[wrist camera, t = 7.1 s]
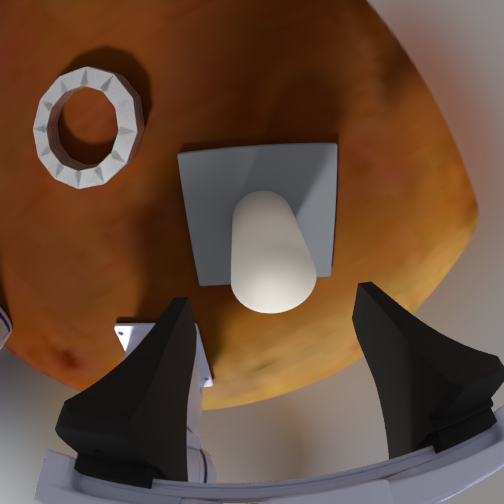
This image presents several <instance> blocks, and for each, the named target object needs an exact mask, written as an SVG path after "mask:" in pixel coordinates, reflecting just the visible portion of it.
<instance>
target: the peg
mask: <svg viewBox="0 0 504 504" xmlns="http://www.w3.org/2000/svg"><path fill="white" fill-rule="evenodd" d="M315 283H316V268H315V265H314V263H313V260H312V258H311V255H310V253H309V250H308V248H307V245H306V243H305V240H304V238H303V236H302V233H301V231H300V228H299V226H298V224H297V221H296V219H295V217H294V214H293V212H292V210H291V207H290V205H289V203H288V202H287V201H286V200H285V199H284V198H283V197H282V196H281V195H279V194H277V193H275V192H272V191H266V190H261V191H255V192H252V193H249V194H247V195H246V196H244V197H243V198H242V199H241V200H240V201H239V202H238V203H237V205H236V207H235V209H234V211H233V218H232V254H231V287H232V290H233V293H234V295H235V296H236V298H237V299H238V300H239V301H240V302H241V303H242V304H243V305H244V306H246V307H248V308H250V309H252V310H254V311H257V312H262V313H279V312H284V311H287V310H290V309H292V308H294V307H296V306H298V305H299V304H301V303H302V302H303V301H304V300H305V299H306V298H307V297H308V296H309V295H310V294H311V292H312V290H313V288H314V286H315Z"/></svg>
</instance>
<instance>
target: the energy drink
mask: <svg viewBox="0 0 504 504" xmlns="http://www.w3.org/2000/svg"><path fill="white" fill-rule="evenodd" d="M11 332H12V324H11V321H10V319H9V317H8V316H7V314H6V313H5V311H4V310H3V309H2V308H1V307H0V350H1V348H2V347H3V345H4V343H5V342H6V340H7V338H8V337H9V335H10V334H11Z"/></svg>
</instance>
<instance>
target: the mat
mask: <svg viewBox="0 0 504 504" xmlns="http://www.w3.org/2000/svg"><path fill="white" fill-rule="evenodd" d="M177 157H178V164H179V171H180V177H181V184H182V191H183V197H184V203H185V209H186V215H187V221H188V227H189V233H190V238H191V244H192V249H193V254H194V260H195V265H196V270H197V275H198V280H199V285H200V286H211V285H226V284H231V254H232V218H233V211H234V209H235V207H236V205H237V203H238V202H239V201H240V200H241V199H242V198H243V197H244V196H246V195H247V194H249V193H252V192H255V191H261V190H266V191H272V192H275V193H277V194H279V195H281V196H282V197H283V198H284V199H285V200H286V201H287V202H288V203H289V205H290V207H291V210H292V212H293V214H294V217H295V219H296V221H297V224H298V226H299V228H300V231H301V233H302V236H303V238H304V240H305V243H306V245H307V248H308V250H309V253H310V255H311V258H312V260H313V263H314V265H315V268H316V277H326V276H330V275H331V264H332V252H333V239H334V224H335V207H336V183H337V144H336V143H289V144H267V145H251V146H238V147H226V148H216V149H206V150H197V151H189V152H181V153H178V154H177Z"/></svg>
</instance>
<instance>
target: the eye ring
mask: <svg viewBox="0 0 504 504" xmlns="http://www.w3.org/2000/svg"><path fill="white" fill-rule="evenodd" d="M86 87H91V88H94V89H98V90H101V91H103V92H104V94H105V95H106V96H107V98H108V99H109V100H110V101H111V103H112V104H113V105H114V107H115V108H116V115H117V123H118V129H119V131H118V134H117V137H116V140H115V143H114V146H113V150H112V153H111V154H110V155H108V156H107V157H106V158H105V159H104V160H103V161H102V162H101V163H96V164H91V165H86V164H84V163H81V162H79V161H76V160H74V159H72V158H71V157H70V156H69V154H68V153H67V152H66V151H65V149H64V148H63V147H62V145H61V143H60V137H59V132H58V121H59V117H60V114H61V110H62V107H63V105H64V104H65V103H66V102H67V100H68V99H69V98H70V97H71V96H72V95H73V94H74V93H75V92H76V91H77V90H80V89H83V88H86ZM144 130H145V127H144V119H143V111H142V103H141V97H140V96H139V95H138V93H137V92H136V91H135V90H134V88H133V87H132V86H131V84H130V83H129V82H128V81H127V79H126V78H125V77H124V76H123V75H122V74H119V73H115V72H112V71H108V70H105V69H101V68H97V67H84V68H81V69H78V70H75V71H73V72H70V73H67V74H65V75H62V76H60V77H59V78H58V79H57V80H56V81H55V82H54V84H53V85H52V86H51V87H50V88H49V90H48V91H47V92H46V93H45V94H44V96H43V97H42V98H41V100H40V103H39V107H38V110H37V114H36V119H35V123H34V127H33V131H34V137H35V143H36V148H37V153H38V157H39V159H40V160H41V161H42V163H43V164H44V165H45V167H46V168H47V169H48V171H49V172H50V173H51V175H52V176H53V177H54V179H56V180H59V181H61V182H63V183H66V184H68V185H71V186H73V187H75V188H78V189H80V188H85V187H90V186H95V185H101V184H105V183H106V182H107V181H109V180H110V179H111V178H112V177H114V176H115V175H116V174H117V173H118V172H119V171H120V170H121V169H122V168H123V167H125V166H126V165H127V164H128V163H129V162H130V161H131V160H132V159H134V157H135V154H136V151H137V148H138V146H139V143H140V140H141V137H142V135H143V132H144Z"/></svg>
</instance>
